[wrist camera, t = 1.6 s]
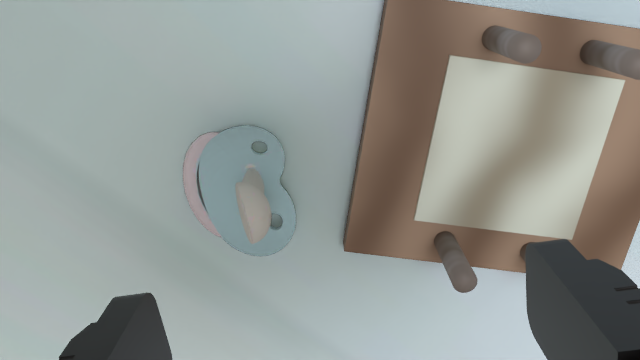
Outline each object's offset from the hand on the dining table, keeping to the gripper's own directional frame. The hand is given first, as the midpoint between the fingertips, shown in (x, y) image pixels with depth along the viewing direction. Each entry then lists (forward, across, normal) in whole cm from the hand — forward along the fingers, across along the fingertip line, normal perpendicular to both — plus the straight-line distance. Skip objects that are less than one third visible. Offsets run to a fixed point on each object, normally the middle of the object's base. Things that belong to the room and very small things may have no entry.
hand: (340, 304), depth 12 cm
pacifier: (+19, +6, +3) cm, 20 cm away
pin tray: (+19, -9, +4) cm, 21 cm away
